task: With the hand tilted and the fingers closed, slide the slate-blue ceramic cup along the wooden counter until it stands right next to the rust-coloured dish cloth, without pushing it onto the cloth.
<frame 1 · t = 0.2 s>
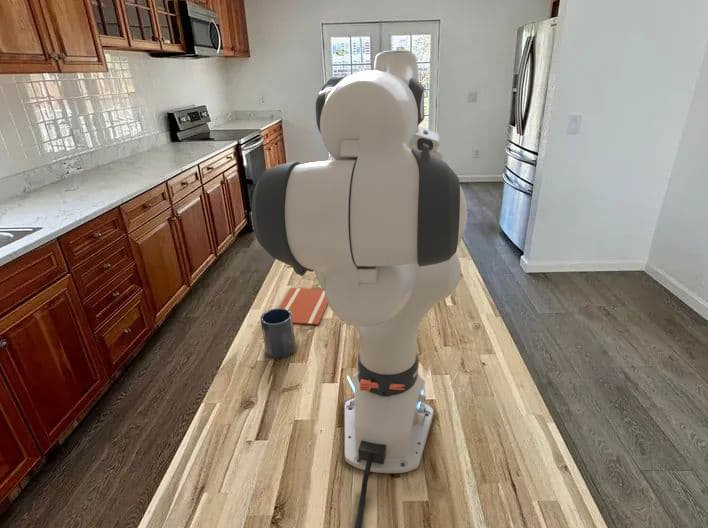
hand: (397, 201, 96), 39 cm above the countertop, tool pointing down, fingers open, 8 cm apart
cloth: (304, 305, 132), on the countertop
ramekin: (354, 286, 140), point 1 cm above the countertop
cup: (280, 349, 113), on the countertop
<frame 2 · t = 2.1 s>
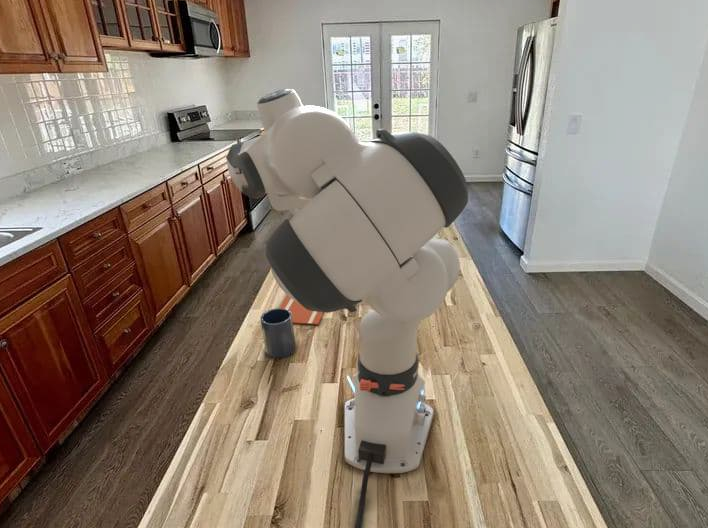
hand: (323, 218, 100), 34 cm above the countertop, tool tilted 20°, fingers open, 8 cm apart
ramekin: (353, 290, 140), on the countertop
everything else where it was.
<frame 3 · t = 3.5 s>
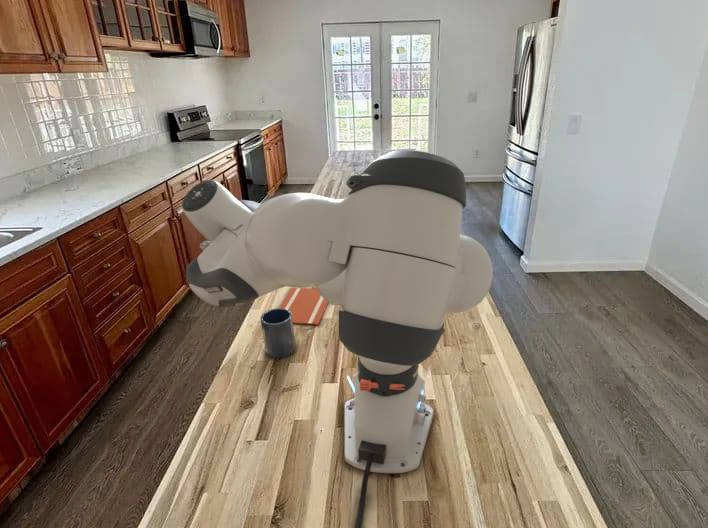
hand: (270, 271, 99), 24 cm above the countertop, tool tilted 40°, fingers open, 8 cm apart
nothing on the countertop moved.
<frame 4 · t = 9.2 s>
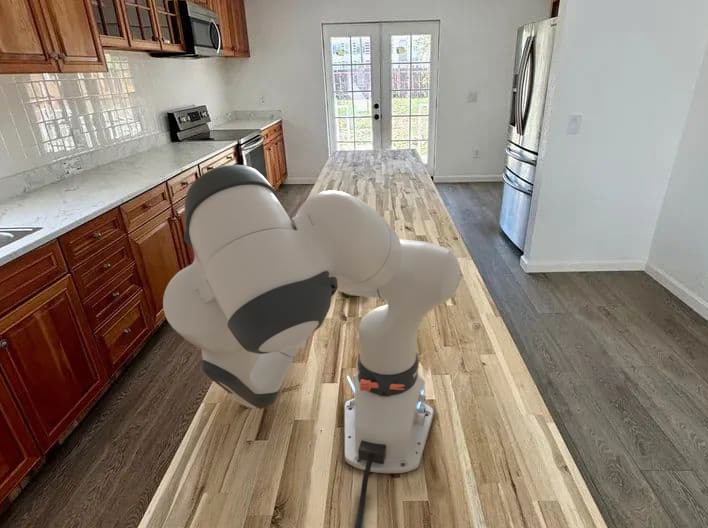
hand: (272, 342, 107), 5 cm above the countertop, tool tilted 45°, fingers closed, pressing on cup
cup: (280, 348, 113), on the countertop, touching gripper
everything else where it was.
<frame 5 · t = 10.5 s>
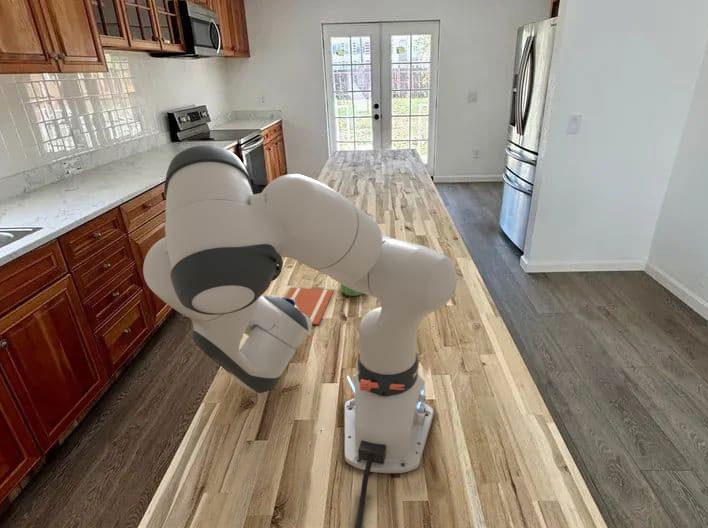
hand: (278, 330, 112), 5 cm above the countertop, tool tilted 45°, fingers closed, pressing on cup
cup: (285, 336, 118), on the countertop, touching gripper
everything else where it was.
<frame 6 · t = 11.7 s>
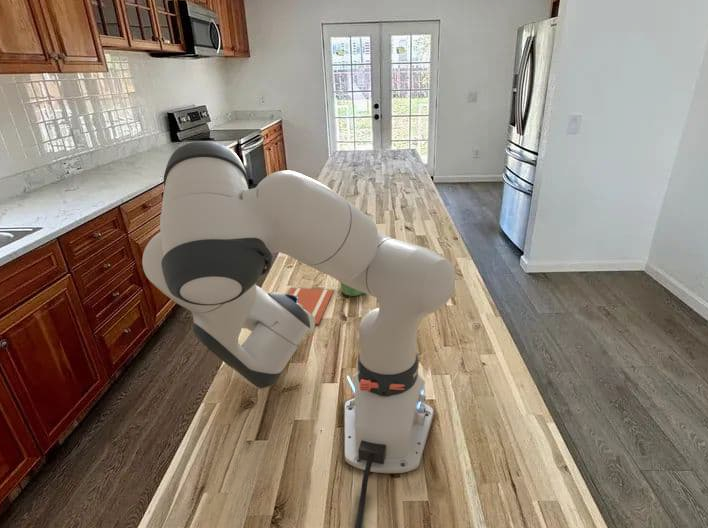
hand: (282, 327, 113), 5 cm above the countertop, tool tilted 45°, fingers closed
cup: (288, 332, 119), on the countertop
everything else where it was.
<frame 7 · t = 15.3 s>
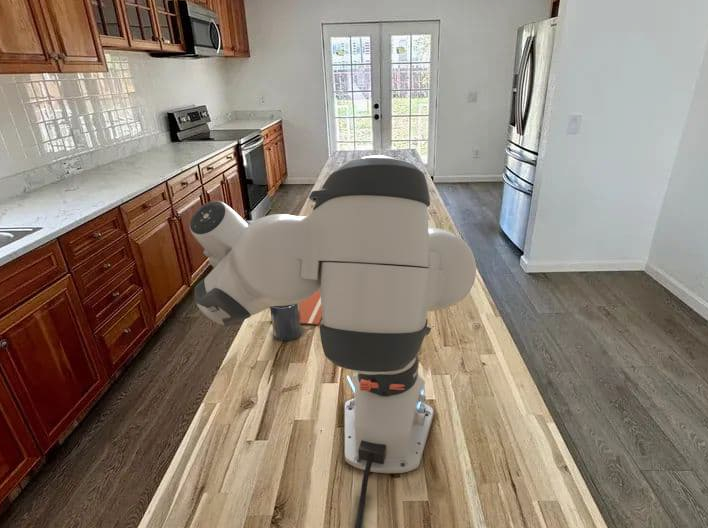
hand: (269, 278, 101), 22 cm above the countertop, tool tilted 40°, fingers closed
nothing on the countertop moved.
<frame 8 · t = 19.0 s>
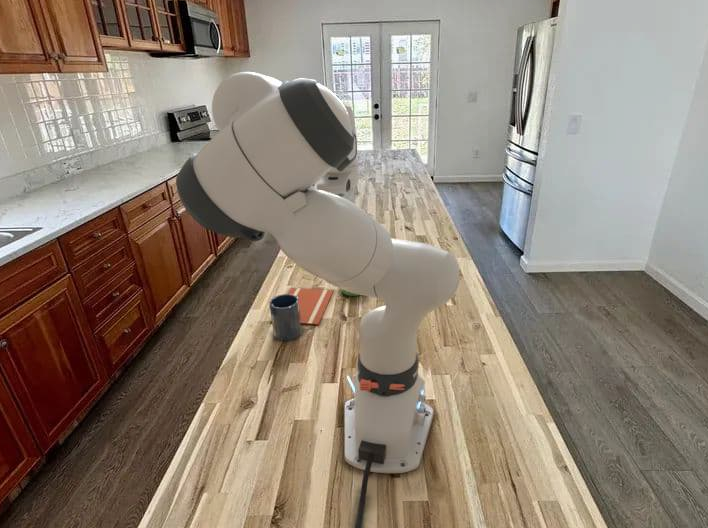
hand: (342, 233, 106), 29 cm above the countertop, tool pointing down, fingers closed
nothing on the countertop moved.
at the end: cup inside the target area on the countertop beside the cloth (0.6 cm from its centre), on the countertop; cup tilted 0°; cup moved 7.5 cm from its start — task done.
